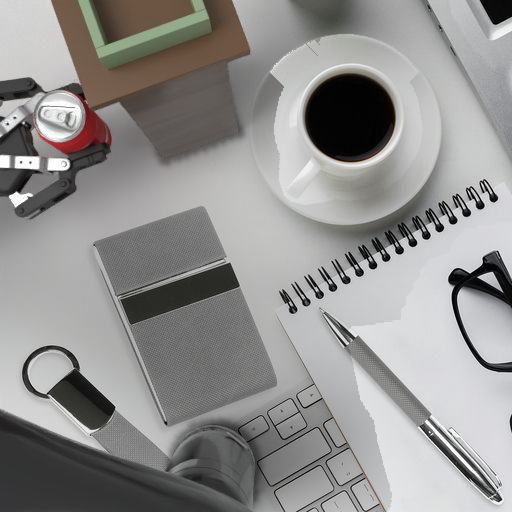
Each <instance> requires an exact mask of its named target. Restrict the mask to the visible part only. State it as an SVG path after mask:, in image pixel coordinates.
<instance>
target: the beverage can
mask: <svg viewBox="0 0 512 512" xmlns="http://www.w3.org/2000/svg"><path fill="white" fill-rule="evenodd" d="M51 91H52V90H51ZM48 92H49V91H48ZM33 120H34V126H35V128H34V129H35V131H36V133H37V135H38V136H39V138H40V139H41V140H43V141H44V142H45V143H47V144H48V145H50V146H51V147H53V148H55V149H56V150H58V151H59V152H61V153H62V154H64V155H65V156H67V158H69V155H68V154H71V153H73V152H76V151H80V150H82V149H85V148H87V147H90V146H93V145H96V144H98V143H101V142H106V143H107V144H109V146H110V148H111V147H112V143H113V137H112V132H111V129H110V127H109V125H108V124H107V123H106V122H105V121H104V120H103V119H102V118H101V116H100V115H98V113H96V111H92V110H91V109H90V108H89V106H88V103H87V101H86V100H85V101H84V100H83V99H82V98H81V97H80V96H79V95H77V94H76V93H73V92H71V91H67V90H57V91H52V92H49V93H47V94H45V95H44V96H43V97H41V98H40V100H39V101H38V102H37V104H36V106H35V109H34V113H33Z"/></svg>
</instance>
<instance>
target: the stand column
mask: <svg viewBox="0 0 512 512" xmlns="http://www.w3.org/2000/svg"><path fill="white" fill-rule="evenodd" d="M229 72H230V71H229V66H228V63H226V64H223V65H220V66H217V67H215V68H212V69H209V70H206V71H204V72H201V73H198V74H195V75H192V76H190V77H187V78H184V79H181V80H179V81H176V82H173V83H170V84H168V85H165V86H162V87H159V88H157V89H154V90H151V91H148V92H146V93H143V94H140V95H137V96H135V97H132V98H129V99H126V100H124V101H121V102H118V103H119V104H120V105H121V106H122V108H123V109H124V111H126V113H127V114H128V116H130V118H131V120H133V122H134V123H135V124H136V125H137V127H138V128H139V129H140V130H141V132H142V133H143V134H144V136H145V137H146V139H148V140H149V142H150V143H151V144H152V146H153V147H154V149H156V151H157V153H159V155H160V156H161V157H162V158H163V160H168V159H170V158H173V157H176V156H178V155H182V154H184V153H187V152H190V151H192V150H195V149H198V148H201V147H203V146H206V145H208V144H212V143H215V142H217V141H220V140H223V139H225V138H228V137H231V136H233V135H236V134H239V128H238V124H237V123H238V122H237V117H236V110H235V109H236V108H235V105H234V98H233V92H232V84H231V79H230V73H229Z"/></svg>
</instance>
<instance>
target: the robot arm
mask: <svg viewBox="0 0 512 512" xmlns="http://www.w3.org/2000/svg"><path fill="white" fill-rule="evenodd" d="M57 90H67V91H71V92H73V93H76V94H77V95H79V96H80V97H81V98H82V99H83V100H84V101H85V102H86V98H85V95H84V92H83V89H82V87H81V84H80V82H72V83H69V84H66V85H63V86H60V87H58V88H55V89H52V90H50V91H49V90H48V91H45V89H43V87H42V85H40V84H39V83H37V81H36V80H35V79H33V78H32V77H30V76H27V77H19V78H13V79H6V80H0V108H1V107H2V106H3V105H4V102H9V101H10V102H11V101H16V100H24V99H29V100H28V101H27V102H25V103H24V104H22V105H19V106H17V107H16V108H15V109H14V110H13V111H11V112H10V113H9V114H8V115H7V116H3V115H0V198H2V197H4V198H9V199H10V201H11V202H12V204H13V206H14V214H15V215H16V217H18V218H22V219H25V220H33V219H35V218H37V217H38V216H40V215H41V214H43V213H44V212H47V210H50V208H52V207H55V206H56V205H57V204H59V203H60V202H62V201H64V200H65V199H67V198H68V197H70V196H72V195H73V194H75V193H76V192H77V190H78V186H77V185H76V177H77V174H78V173H79V172H80V171H83V170H86V169H88V168H91V167H94V166H96V165H99V164H102V163H105V161H106V160H108V156H107V155H110V154H111V153H112V149H111V147H110V146H109V144H107V143H106V142H101V143H98V144H96V145H93V146H90V147H87V148H85V149H82V150H80V151H76V152H73V153H71V154H68V155H69V157H46V156H40V153H39V151H38V150H37V149H36V146H35V144H34V143H35V142H34V136H33V134H32V131H33V130H34V129H35V126H34V120H33V113H34V109H35V106H36V104H37V102H38V101H39V100H40V98H41V97H43V96H44V95H45V94H47V93H49V92H52V91H57ZM34 175H35V176H54V175H58V180H56V181H54V182H53V183H51V184H49V185H47V186H46V187H45V188H43V189H42V190H40V191H38V192H36V193H35V194H33V193H31V192H26V193H23V194H22V191H23V190H24V188H25V187H26V185H27V184H28V182H29V181H30V180H31V179H32V177H33V176H34ZM255 477H256V460H255V455H254V452H253V450H252V448H251V446H250V444H249V443H248V441H247V440H246V439H245V438H244V436H242V435H241V434H240V433H238V432H237V431H236V430H235V429H232V428H230V427H227V426H224V425H220V424H219V425H218V424H208V425H203V426H200V427H197V428H195V429H192V430H191V431H190V432H188V433H187V434H185V436H183V437H182V438H181V439H180V441H179V442H178V444H177V445H176V446H175V448H174V451H173V453H172V456H171V458H170V461H169V462H168V464H167V465H166V468H165V469H164V470H163V469H160V468H156V467H154V466H150V465H147V464H145V463H141V462H138V461H135V460H132V459H129V458H126V457H123V456H120V455H117V454H114V453H111V452H108V451H105V450H102V449H99V448H96V447H93V446H90V445H88V444H85V443H83V442H80V441H77V440H75V439H72V438H69V437H68V436H64V435H62V434H60V433H57V432H55V431H53V430H50V429H48V428H46V427H43V426H41V425H38V424H36V423H33V422H32V421H29V420H27V419H25V418H22V417H21V416H19V415H15V414H14V413H13V412H9V411H7V410H5V409H3V408H0V512H254V511H253V507H254V484H255Z"/></svg>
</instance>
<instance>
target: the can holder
mask: <svg viewBox="0 0 512 512" xmlns="http://www.w3.org/2000/svg"><path fill="white" fill-rule="evenodd" d="M50 3H51V5H52V8H53V11H54V14H55V16H56V19H57V22H58V24H59V27H60V30H61V33H62V36H63V39H64V41H65V44H66V47H67V50H68V54H69V56H70V58H71V61H72V64H73V66H74V70H75V72H76V75H77V78H78V82H79V84H80V85H81V87H82V89H83V92H84V95H85V98H86V100H85V102H86V103H87V104H88V106H89V108H90V109H91V110H92V111H95V112H96V111H98V110H99V111H100V110H102V109H104V108H107V107H110V106H112V105H115V104H118V103H119V102H121V101H124V100H126V99H129V98H132V97H135V96H137V95H140V94H143V93H146V92H148V91H151V90H154V89H157V88H159V87H162V86H165V85H168V84H170V83H173V82H176V81H179V80H181V79H184V78H187V77H190V76H192V75H195V74H198V73H201V72H204V71H206V70H209V69H212V68H215V67H217V66H220V65H223V64H226V63H227V64H228V63H230V62H231V63H232V62H234V61H237V60H239V59H242V58H245V57H248V56H250V55H251V48H250V47H251V46H250V43H249V42H248V39H247V36H246V33H245V31H244V28H243V26H242V23H241V20H240V18H239V14H238V13H237V9H236V7H235V4H234V2H233V0H50Z"/></svg>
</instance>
